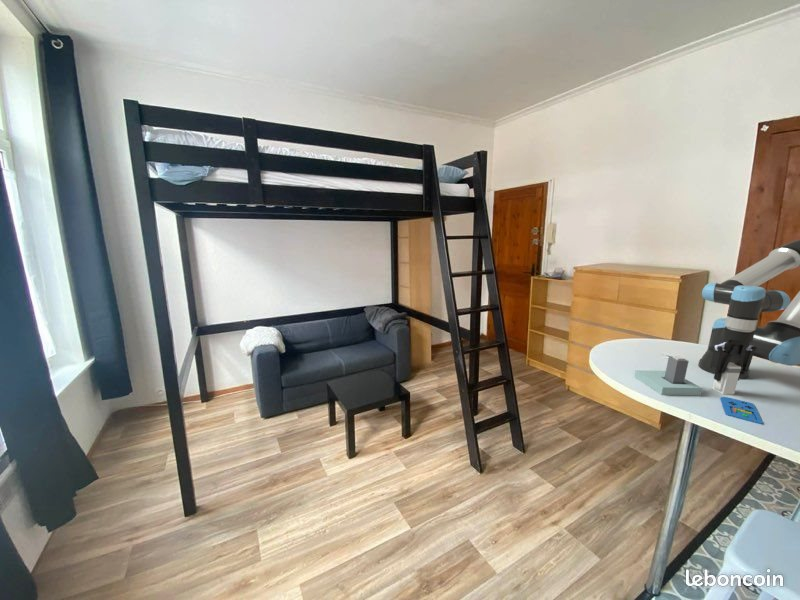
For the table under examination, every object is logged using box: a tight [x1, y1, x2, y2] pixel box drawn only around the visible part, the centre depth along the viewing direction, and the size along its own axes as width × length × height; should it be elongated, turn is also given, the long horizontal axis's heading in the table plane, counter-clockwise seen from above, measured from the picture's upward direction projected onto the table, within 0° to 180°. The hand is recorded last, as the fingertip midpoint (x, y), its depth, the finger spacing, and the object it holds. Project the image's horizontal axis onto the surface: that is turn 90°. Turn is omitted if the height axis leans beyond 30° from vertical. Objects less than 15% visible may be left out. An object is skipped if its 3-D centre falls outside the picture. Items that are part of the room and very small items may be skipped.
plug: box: [664, 355, 689, 384], centre depth 117 cm, size 4×4×13 cm
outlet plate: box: [634, 369, 703, 396], centre depth 119 cm, size 14×14×3 cm
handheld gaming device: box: [719, 396, 764, 425], centre depth 104 cm, size 8×1×15 cm
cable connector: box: [712, 362, 741, 395], centre depth 114 cm, size 4×4×12 cm
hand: (723, 388), depth 115 cm, fingers closed on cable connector, 4 cm apart
